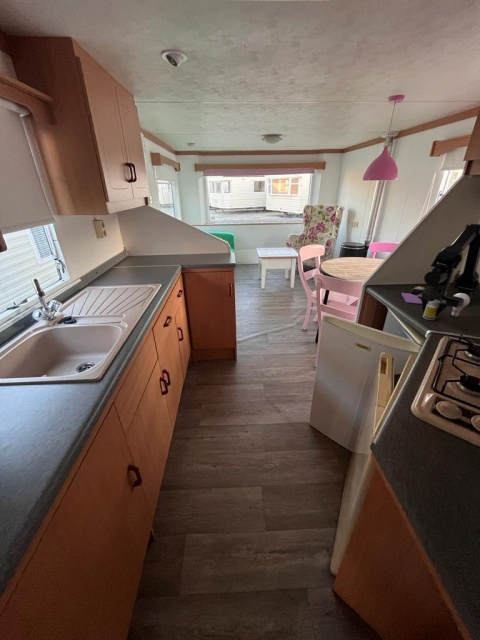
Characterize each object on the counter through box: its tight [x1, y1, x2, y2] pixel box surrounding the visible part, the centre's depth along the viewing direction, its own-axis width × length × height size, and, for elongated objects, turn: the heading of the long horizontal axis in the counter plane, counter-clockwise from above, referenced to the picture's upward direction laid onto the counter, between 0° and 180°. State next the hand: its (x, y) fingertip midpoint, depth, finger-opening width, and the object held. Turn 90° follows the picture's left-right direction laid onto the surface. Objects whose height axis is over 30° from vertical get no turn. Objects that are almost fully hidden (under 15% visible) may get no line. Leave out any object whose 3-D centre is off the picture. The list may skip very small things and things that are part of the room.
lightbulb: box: [450, 293, 471, 317], centre depth 118 cm, size 6×6×11 cm
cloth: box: [400, 292, 422, 305], centre depth 139 cm, size 14×14×1 cm
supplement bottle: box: [422, 299, 441, 321], centre depth 117 cm, size 5×5×8 cm
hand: (430, 314), depth 118 cm, fingers closed on supplement bottle, 5 cm apart
